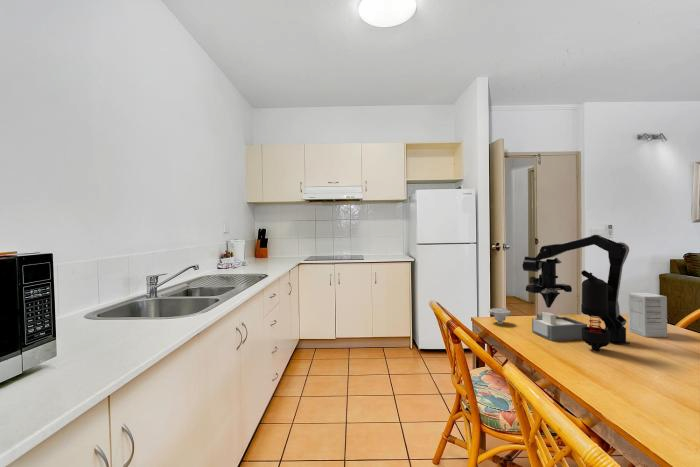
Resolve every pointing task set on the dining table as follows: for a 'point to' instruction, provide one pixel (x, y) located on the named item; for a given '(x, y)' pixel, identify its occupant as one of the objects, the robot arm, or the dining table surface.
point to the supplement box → (647, 314)
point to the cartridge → (547, 323)
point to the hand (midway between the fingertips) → (548, 307)
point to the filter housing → (562, 330)
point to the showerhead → (499, 314)
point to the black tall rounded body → (595, 310)
